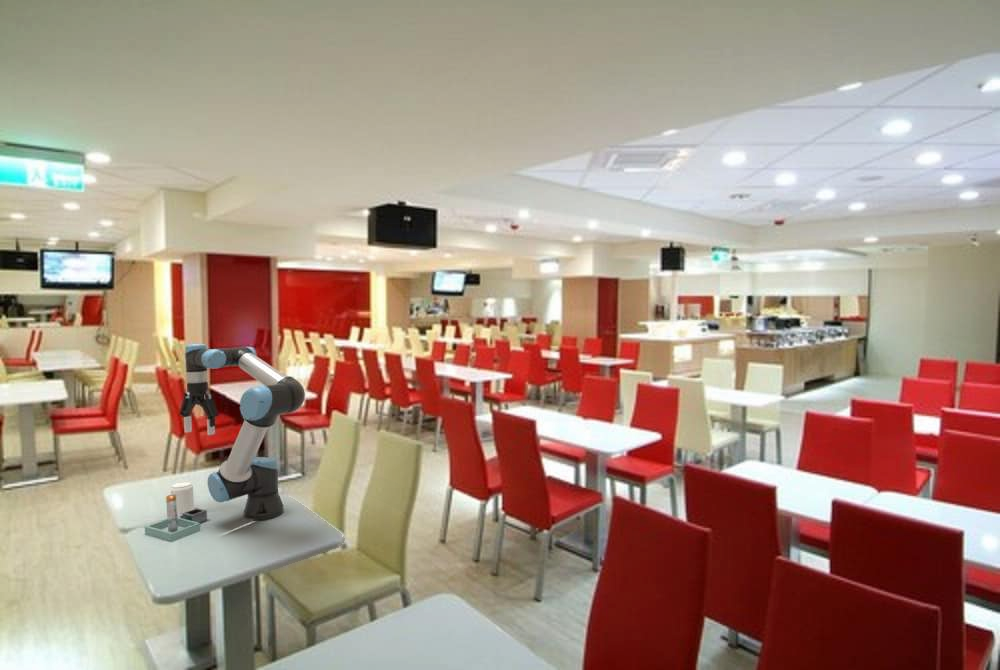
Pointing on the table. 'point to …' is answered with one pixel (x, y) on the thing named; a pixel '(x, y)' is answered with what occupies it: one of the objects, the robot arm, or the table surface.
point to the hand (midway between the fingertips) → (199, 433)
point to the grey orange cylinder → (172, 513)
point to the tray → (188, 529)
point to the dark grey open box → (196, 515)
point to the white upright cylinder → (183, 496)
